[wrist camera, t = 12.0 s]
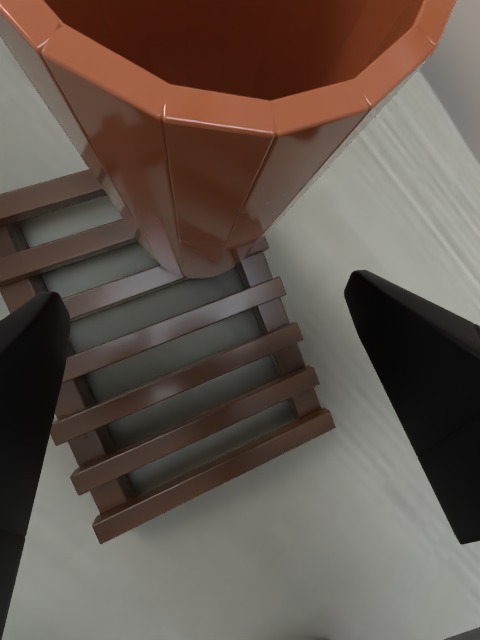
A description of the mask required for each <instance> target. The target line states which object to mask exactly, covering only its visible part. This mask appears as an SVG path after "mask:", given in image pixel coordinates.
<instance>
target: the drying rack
mask: <svg viewBox="0 0 480 640" xmlns="http://www.w3.org/2000/svg"><path fill="white" fill-rule="evenodd" d="M105 195H107V194H106V192H105V191H104V190H103V188H102V187H101V185H100V184H99V182H98V181H97V179H96V178H95V176H94V175H93V173H92V172H91V170H90V169H88V170H85V171H81V172H78V173H74V174H70V175H67V176H63V177H60V178H56V179H53V180H49V181H45V182H42V183H38V184H35V185H31V186H28V187H24V188H20V189H17V190H13V191H10V192H6V193H2V194H0V292H1V294H2V296H3V298H4V301H5V303H6V305H7V307H8V309H9V312H10V314H11V313H12V312H14V311H15V310H17V309H18V308H19V307H21V306H22V305H23V304H25V303H26V302H28V301H29V300H30V299H32V298H33V297H34V296H36V295H37V294H39V293H42V292H47V289H46V287H45V285H44V282H43V280H42V278H41V275H40V274H41V273H44V272H47V271H50V270H53V269H56V268H59V267H62V266H65V265H68V264H71V263H74V262H77V261H80V260H83V259H86V258H89V257H92V256H95V255H98V254H101V253H104V252H107V251H110V250H113V249H117V248H120V247H123V246H126V245H129V244H132V243H135V242H138V240H137V238H136V237H135V235H134V234H133V232H132V231H131V229H130V228H129V226H128V225H127V223H126V222H125V221H124V219H121V220H118V221H115V222H112V223H109V224H105V225H102V226H99V227H96V228H93V229H89V230H86V231H83V232H80V233H77V234H74V235H70V236H67V237H64V238H61V239H58V240H54V241H51V242H48V243H45V244H42V245H39V246H35V247H32V248H28V246H27V243H26V241H25V239H24V237H23V234H22V232H21V230H20V227H19V225H18V223H17V221H21V220H24V219H28V218H31V217H34V216H38V215H41V214H44V213H48V212H51V211H54V210H58V209H61V208H65V207H68V206H71V205H75V204H78V203H81V202H85V201H88V200H91V199H95V198H98V197H102V196H105ZM268 248H269V246H268V243H267V241H266V238H265V237H264V238H263V239H262V240H261V241H260V242H259V243H258V244H257V245H256V246H255V247H254V249H253V250H252V251H251V252H250V253H249V254H248V255H247V256H246V257H245V258H244V259H243V260H241V262H240V263H239V264H237V265H236V267H237V269H238V272H239V274H240V277H241V280H242V282H243V285H244V288H245V290H242V291H240V292H237V293H234V294H232V295H229V296H226V297H224V298H221V299H219V300H216V301H213V302H211V303H208V304H206V305H203V306H200V307H198V308H195V309H192V310H190V311H187V312H185V313H182V314H179V315H177V316H174V317H172V318H169V319H166V320H164V321H161V322H158V323H156V324H153V325H151V326H148V327H145V328H143V329H140V330H138V331H135V332H132V333H130V334H127V335H124V336H122V337H119V338H117V339H114V340H111V341H109V342H106V343H103V344H101V345H98V346H96V347H93V348H90V349H88V350H85V351H83V352H80V353H77V354H75V353H74V351H73V349H72V346H71V344H70V342H69V340H68V349H67V359H66V367H65V372H64V376H63V380H62V385H61V389H60V393H59V397H58V402H57V406H56V410H55V414H56V416H57V418H58V420H55V421H53V423H52V427H51V431H50V434H51V436H52V439H53V441H54V443H55V445H56V446H57V445H60V444H62V443H65V442H67V441H68V443H69V445H70V447H71V450H72V452H73V454H74V456H75V458H76V461H77V463H78V465H79V467H80V468H78V469H76V470H75V471H74V472H73V474H72V475H71V476H70V478H71V480H72V483H73V485H74V487H75V489H76V491H77V494H78V495H81V494H84V493H86V492H88V491H90V492H91V494H92V496H93V498H94V501H95V503H96V505H97V507H98V510H99V512H100V515H98V516H97V517H96V519H95V521H94V523H93V525H92V527H93V529H94V531H95V534H96V536H97V538H98V540H99V542H100V544H102V543H104V542H106V541H109V540H111V539H113V538H115V537H117V536H119V535H121V534H123V533H125V532H127V531H129V530H131V529H133V528H135V527H137V526H139V525H141V524H143V523H145V522H147V521H149V520H151V519H153V518H155V517H157V516H159V515H161V514H163V513H165V512H167V511H169V510H171V509H173V508H175V507H177V506H179V505H181V504H183V503H185V502H187V501H189V500H191V499H193V498H195V497H197V496H199V495H201V494H203V493H205V492H207V491H209V490H211V489H213V488H215V487H217V486H219V485H221V484H223V483H225V482H227V481H229V480H231V479H233V478H235V477H237V476H239V475H241V474H243V473H245V472H247V471H249V470H251V469H253V468H255V467H257V466H259V465H262V464H264V463H266V462H268V461H270V460H272V459H274V458H276V457H278V456H280V455H282V454H284V453H286V452H288V451H290V450H292V449H294V448H296V447H298V446H300V445H302V444H304V443H306V442H308V441H310V440H312V439H314V438H316V437H318V436H320V435H322V434H324V433H326V432H328V431H330V430H332V429H334V428H336V427H335V424H334V421H333V418H332V416H331V413H330V411H329V410H327V409H326V408H321V406H320V404H319V401H318V398H317V396H316V393H315V390H314V388H313V387H315V386H317V385H319V381H318V378H317V376H316V373H315V370H314V368H313V367H311V366H305V363H304V361H303V358H302V355H301V353H300V350H299V347H298V345H297V342H300V341H302V340H303V338H302V335H301V332H300V330H299V327H298V324H297V323H296V322H291V323H289V320H288V318H287V315H286V312H285V310H284V307H283V304H282V302H281V299H280V297H282V296H284V295H286V292H285V289H284V286H283V284H282V281H281V278H280V277H276V278H274V279H273V278H272V275H271V272H270V270H269V267H268V264H267V261H266V259H265V256H264V253H263V252H264V251H266V250H267V249H268ZM187 279H189V278H188V277H184V276H180V275H177V274H175V273H172V272H170V271H169V270H167V269H165V268H164V267H162V266H161V265H158V266H155V267H152V268H149V269H147V270H144V271H141V272H138V273H135V274H132V275H129V276H126V277H124V278H121V279H118V280H115V281H112V282H109V283H106V284H104V285H101V286H98V287H95V288H92V289H89V290H86V291H83V292H81V293H78V294H75V295H72V296H69V297H66V298H63V299H62V301H63V303H64V304H65V306H66V308H67V310H68V312H69V315H70V322H71V321H74V320H76V319H79V318H82V317H85V316H87V315H90V314H93V313H96V312H98V311H101V310H104V309H107V308H109V307H112V306H115V305H118V304H120V303H123V302H126V301H129V300H132V299H134V298H137V297H140V296H143V295H145V294H148V293H151V292H154V291H156V290H159V289H162V288H165V287H167V286H170V285H173V284H176V283H178V282H181V281H184V280H187ZM252 308H253V311H254V314H255V316H256V319H257V322H258V324H259V327H260V329H261V332H262V335H260V336H258V337H255V338H253V339H250V340H248V341H246V342H243V343H241V344H238V345H236V346H234V347H231V348H229V349H226V350H224V351H221V352H219V353H217V354H214V355H212V356H209V357H207V358H205V359H202V360H200V361H197V362H195V363H193V364H190V365H188V366H185V367H183V368H180V369H178V370H176V371H173V372H171V373H168V374H166V375H164V376H161V377H159V378H156V379H154V380H152V381H149V382H147V383H144V384H142V385H140V386H137V387H135V388H132V389H130V390H127V391H125V392H123V393H120V394H118V395H115V396H113V397H111V398H108V399H106V400H103V401H101V402H99V403H96V401H95V399H94V397H93V395H92V392H91V390H90V388H89V385H88V383H87V381H86V379H85V376H84V375H85V374H87V373H90V372H92V371H95V370H97V369H100V368H102V367H105V366H107V365H110V364H113V363H115V362H118V361H120V360H123V359H125V358H128V357H130V356H133V355H135V354H138V353H140V352H143V351H145V350H148V349H150V348H153V347H155V346H158V345H161V344H163V343H166V342H168V341H171V340H173V339H176V338H178V337H181V336H183V335H186V334H188V333H191V332H193V331H196V330H198V329H201V328H204V327H206V326H209V325H211V324H214V323H216V322H219V321H221V320H224V319H226V318H229V317H231V316H234V315H236V314H239V313H241V312H244V311H246V310H249V309H252ZM267 355H270V356H271V358H272V361H273V364H274V366H275V369H276V371H277V374H278V377H279V379H277V380H274V381H272V382H270V383H268V384H265V385H263V386H261V387H259V388H257V389H254V390H252V391H250V392H248V393H245V394H243V395H241V396H239V397H236V398H234V399H232V400H230V401H227V402H225V403H223V404H221V405H219V406H216V407H214V408H212V409H210V410H207V411H205V412H203V413H201V414H198V415H196V416H194V417H192V418H189V419H187V420H185V421H183V422H181V423H178V424H176V425H174V426H172V427H169V428H167V429H165V430H163V431H160V432H158V433H156V434H154V435H151V436H149V437H147V438H145V439H142V440H140V441H138V442H136V443H134V444H131V445H129V446H127V447H125V448H122V449H120V450H118V451H117V450H116V447H115V445H114V443H113V440H112V438H111V436H110V434H109V431H108V429H107V427H106V425H107V424H109V423H111V422H114V421H116V420H118V419H121V418H123V417H125V416H128V415H130V414H132V413H134V412H137V411H139V410H141V409H144V408H146V407H148V406H151V405H153V404H155V403H158V402H160V401H162V400H165V399H167V398H169V397H172V396H174V395H176V394H179V393H181V392H183V391H186V390H188V389H190V388H193V387H195V386H197V385H200V384H202V383H204V382H207V381H209V380H211V379H214V378H216V377H218V376H221V375H223V374H225V373H228V372H230V371H232V370H235V369H237V368H239V367H242V366H244V365H246V364H249V363H251V362H253V361H256V360H258V359H260V358H263V357H265V356H267ZM285 400H288V403H289V405H290V408H291V411H292V413H293V416H294V419H295V421H294V422H292V423H290V424H288V425H286V426H284V427H282V428H280V429H278V430H276V431H273V432H271V433H269V434H267V435H265V436H263V437H261V438H259V439H257V440H255V441H253V442H251V443H248V444H246V445H244V446H242V447H240V448H238V449H236V450H234V451H232V452H230V453H228V454H226V455H223V456H221V457H219V458H217V459H215V460H213V461H211V462H209V463H207V464H205V465H203V466H201V467H198V468H196V469H194V470H192V471H190V472H188V473H186V474H184V475H182V476H180V477H178V478H175V479H173V480H171V481H169V482H167V483H165V484H163V485H161V486H159V487H157V488H155V489H153V490H150V491H148V492H146V493H144V494H142V495H140V496H138V497H137V495H136V493H135V491H134V489H133V486H132V484H131V482H130V479H129V477H128V475H127V473H129V472H131V471H133V470H135V469H138V468H140V467H142V466H144V465H146V464H148V463H151V462H153V461H155V460H157V459H159V458H161V457H164V456H166V455H168V454H170V453H172V452H174V451H177V450H179V449H181V448H183V447H185V446H187V445H189V444H192V443H194V442H196V441H198V440H200V439H202V438H205V437H207V436H209V435H211V434H213V433H215V432H218V431H220V430H222V429H224V428H226V427H228V426H231V425H233V424H235V423H237V422H239V421H241V420H243V419H246V418H248V417H250V416H252V415H254V414H256V413H259V412H261V411H263V410H265V409H267V408H269V407H272V406H274V405H276V404H278V403H280V402H282V401H285Z"/></svg>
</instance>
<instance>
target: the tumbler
mask: <svg viewBox="0 0 480 640" xmlns="http://www.w3.org/2000/svg"><path fill="white" fill-rule="evenodd" d="M455 2H456V0H0V37H1V39H2V40H3V42H4V43H5V45H6V46H7V48H8V49H9V51H10V52H11V54H12V55H13V57H14V58H15V60H16V61H17V62H18V64H19V65H20V67H21V68H22V70H23V71H24V73H25V74H26V76H27V77H28V79H29V80H30V82H31V83H32V85H33V86H34V88H35V89H36V91H37V92H38V93H39V95H40V96H41V98H42V99H43V101H44V102H45V104H46V105H47V107H48V108H49V110H50V111H51V113H52V114H53V116H54V117H55V119H56V120H57V122H58V123H59V125H60V126H61V127H62V129H63V130H64V132H65V133H66V135H67V136H68V138H69V139H70V141H71V142H72V144H73V145H74V147H75V148H76V150H77V151H78V153H79V154H80V156H81V157H82V158H83V160H84V161H85V163H86V164H87V166H88V167H89V169H90V170H91V172H92V173H93V175H94V176H95V178H96V179H97V181H98V182H99V184H100V185H101V187H102V188H103V190H104V191H105V192H106V194H107V195H108V197H109V198H110V200H111V201H112V203H113V204H114V206H115V207H116V209H117V210H118V212H119V213H120V215H121V216H122V218H123V219H124V221H125V222H126V223H127V225H128V226H129V228H130V229H131V231H132V232H133V234H134V235H135V237H136V238H137V240H138V241H139V243H140V244H141V246H142V247H143V248H144V249H145V250H146V251H147V252H148V254H149V255H150V256H151V257H152V258H153V259H154V260H155V261H156V262H157V263H158V264H159V265H161V266H162V267H164V268H165V269H167V270H169V271H170V272H172V273H175V274H177V275H180V276H184V277H188V278H196V279H199V278H210V277H215V276H218V275H221V274H223V273H225V272H227V271H229V270H231V269H232V268H234V267H235V266H236V265H237V264H239V263H240V262H241V260H243V259H244V258H245V257H246V256H247V255H248V254H249V253H250V252H251V251H252V250H253V249H254V247H255V246H256V245H257V244H258V243H259V242H260V241H261V240H262V239H263V238H264V237H265V236H266V234H267V233H268V232H269V231H270V230H271V229H272V228H273V227H274V226H275V225H276V224H277V223H278V221H279V220H280V219H281V218H282V217H283V216H284V215H285V214H286V213H287V212H288V211H289V209H290V208H291V207H292V206H293V205H294V204H295V203H296V202H297V201H298V200H299V199H300V198H301V196H302V195H303V194H304V193H305V192H306V191H307V190H308V189H309V188H310V187H311V186H312V184H313V183H314V182H315V181H316V180H317V179H318V178H319V177H320V176H321V175H322V174H323V173H324V171H325V170H326V169H327V168H328V167H329V166H330V165H331V164H332V163H333V162H334V161H335V160H336V158H337V157H338V156H339V155H340V154H341V153H342V152H343V151H344V150H345V149H346V148H347V146H348V145H349V144H350V143H351V142H352V141H353V140H354V139H355V138H356V137H357V136H358V135H359V133H360V132H361V131H362V130H363V129H364V128H365V127H366V126H367V125H368V124H369V123H370V121H371V120H372V119H373V118H374V117H375V116H376V115H377V114H378V113H379V112H380V111H381V110H382V108H383V107H384V106H385V105H386V104H387V103H388V102H389V101H390V100H391V99H392V98H393V97H394V95H395V94H396V93H397V92H398V91H399V90H400V89H401V88H402V87H403V86H404V85H405V83H406V82H407V81H408V80H409V79H410V78H411V77H412V76H413V75H414V74H415V73H416V72H417V70H418V69H419V68H420V67H421V66H422V65H423V64H424V63H425V62H426V61H427V60H428V58H429V57H430V56H431V55H432V54H433V52H434V50H435V49H436V48H437V45H438V43H439V41H440V38H441V36H442V34H443V31H444V29H445V26H446V24H447V21H448V19H449V17H450V14H451V12H452V9H453V7H454V5H455Z"/></svg>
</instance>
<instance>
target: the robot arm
mask: <svg viewBox="0 0 480 640" xmlns="http://www.w3.org/2000/svg"><path fill="white" fill-rule="evenodd" d="M344 297H345V300H346V303H347V305H348V308H349V311H350V314H351V317H352V320H353V322H354V325H355V328H356V331H357V333H358V335H359V338H360V340H361V342H362V344H363V346H364V348H365V350H366V352H367V354H368V356H369V358H370V360H371V363H372V365H373V367H374V369H375V371H376V373H377V375H378V377H379V379H380V381H381V383H382V385H383V387H384V389H385V391H386V393H387V395H388V398H389V400H390V402H391V404H392V406H393V408H394V410H395V412H396V414H397V416H398V418H399V420H400V422H401V424H402V426H403V428H404V430H405V432H406V435H407V437H408V439H409V441H410V443H411V445H412V447H413V449H414V451H415V453H416V455H417V456H418V460H419V462H420V464H421V466H422V468H423V470H424V472H425V474H426V476H427V478H428V480H429V482H430V484H431V486H432V488H433V490H434V493H435V495H436V497H437V499H438V501H439V503H440V505H441V507H442V509H443V511H444V513H445V515H446V517H447V519H448V521H449V523H450V526H451V528H452V530H453V532H454V534H455V536H456V538H457V539H458V541H459V543H460V544H461V545H462V544H467V543H471V542H476V541H480V326H478V325H476V324H473V323H472V322H470V321H468V320H466V319H464V318H462V317H460V316H458V315H456V314H454V313H452V312H450V311H448V310H446V309H444V308H442V307H440V306H438V305H436V304H434V303H432V302H430V301H428V300H426V299H424V298H422V297H420V296H418V295H416V294H414V293H411V292H409V291H407V290H405V289H403V288H401V287H399V286H397V285H395V284H393V283H391V282H389V281H387V280H385V279H383V278H381V277H379V276H377V275H375V274H373V273H371V272H369V271H367V270H357V271H353V272H352V273H351V276H350V278H349V280H348V283H347V285H346V288H345V290H344ZM69 328H70V315H69V312H68V310H67V308H66V306H65V304H64V303H63V301H62V299H61V297H60V295H59V294H58V293H57V292H42V293H39V294H37V295H36V296H34V297H33V298H32V299H30V300H29V301H28V302H26V303H25V304H23V305H22V306H21V307H19V308H18V309H17V310H15V311H14V312H12V313H11V314H10V315H8V316H7V317H6V318H4V319H3V320H1V321H0V640H2V635H3V631H4V627H5V623H6V618H7V614H8V610H9V606H10V602H11V597H12V593H13V589H14V585H15V580H16V576H17V572H18V568H19V563H20V559H21V555H22V551H23V547H24V542H25V536H26V533H27V529H28V524H29V520H30V516H31V512H32V507H33V503H34V499H35V495H36V490H37V486H38V482H39V478H40V474H41V469H42V465H43V461H44V457H45V452H46V448H47V444H48V440H49V435H50V431H51V427H52V423H53V419H54V414H55V410H56V406H57V402H58V397H59V393H60V389H61V385H62V380H63V376H64V372H65V367H66V359H67V349H68V339H69ZM444 640H480V627H479V628H476V629H473V630H470V631H467V632H464V633H461V634H458V635H455V636H452V637H450V638H447V639H444Z"/></svg>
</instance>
